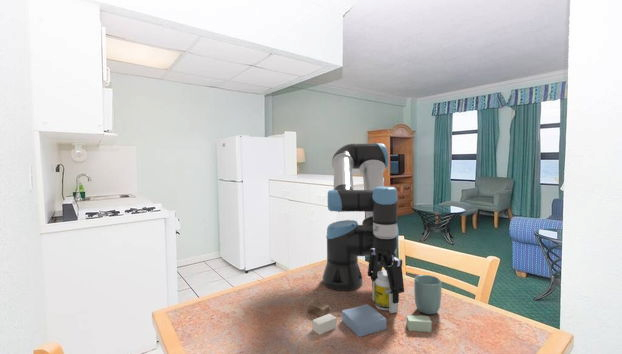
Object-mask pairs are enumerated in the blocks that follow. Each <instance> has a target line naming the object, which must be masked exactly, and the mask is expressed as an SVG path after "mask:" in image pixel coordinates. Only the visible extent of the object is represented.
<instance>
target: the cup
mask: <svg viewBox="0 0 622 354" xmlns="http://www.w3.org/2000/svg"><path fill="white" fill-rule="evenodd" d="M413 281H414V282H413V284H414V286H413V291H414V292H413V294H414V295H413V297H414V303H415V307H416V308H417V310H418V311H419V312H421V313H422V314H425V315H435V314H437V313H438V312H439V311H440V309H441V301H442V281H441V279H440V278H439V277H437V276H434V275H429V274H418V275H416V276H415V277H414V280H413Z"/></svg>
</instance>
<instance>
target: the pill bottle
mask: <svg viewBox="0 0 622 354" xmlns="http://www.w3.org/2000/svg"><path fill="white" fill-rule="evenodd" d="M377 277H378V278H377V279H376V280H375V301H374V306H375V307H376V308H377V309H378V310H381V311H385V312H386V311H387V312H389V292H390V291H391V288H390V284H389V280H388V276H387V272H386V270H385V269H382V270H380V271H378V272H377ZM394 289H395V288H394Z"/></svg>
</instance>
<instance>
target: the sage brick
mask: <svg viewBox="0 0 622 354" xmlns="http://www.w3.org/2000/svg"><path fill="white" fill-rule="evenodd" d="M406 328H407V330H408V331H409V332H424V333H425V332H427V333H428V332H429V333H431V332H432V320H431V318H430V316H429V315H414V314H412V315H411V314H409V315H408V314H407V315H406Z"/></svg>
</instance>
